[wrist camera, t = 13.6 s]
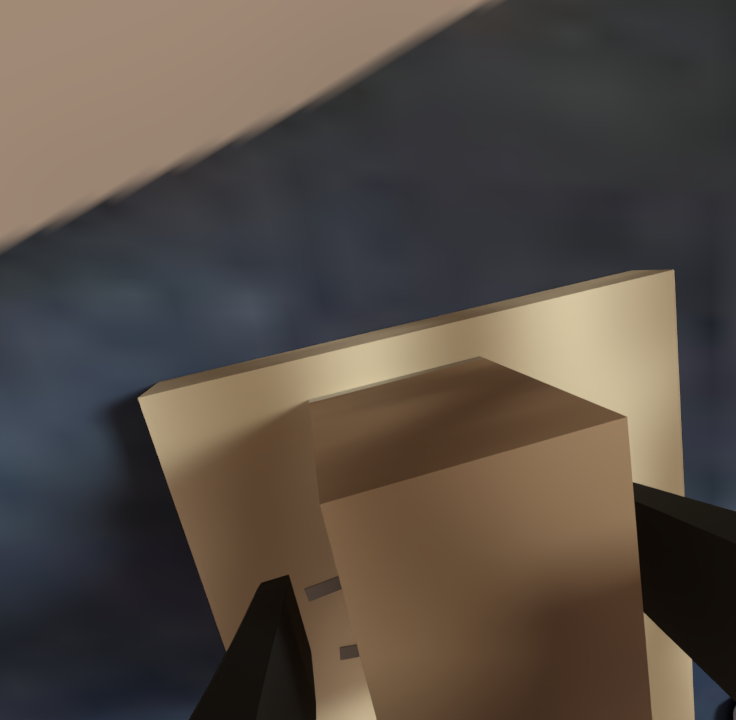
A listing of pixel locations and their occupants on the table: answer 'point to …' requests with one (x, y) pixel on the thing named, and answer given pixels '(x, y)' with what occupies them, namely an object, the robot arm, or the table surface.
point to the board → (378, 363)
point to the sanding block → (485, 546)
